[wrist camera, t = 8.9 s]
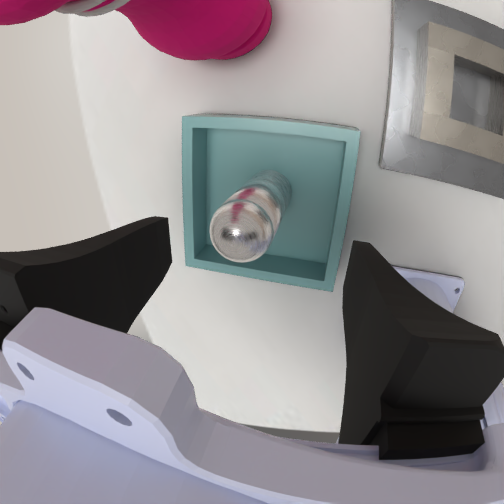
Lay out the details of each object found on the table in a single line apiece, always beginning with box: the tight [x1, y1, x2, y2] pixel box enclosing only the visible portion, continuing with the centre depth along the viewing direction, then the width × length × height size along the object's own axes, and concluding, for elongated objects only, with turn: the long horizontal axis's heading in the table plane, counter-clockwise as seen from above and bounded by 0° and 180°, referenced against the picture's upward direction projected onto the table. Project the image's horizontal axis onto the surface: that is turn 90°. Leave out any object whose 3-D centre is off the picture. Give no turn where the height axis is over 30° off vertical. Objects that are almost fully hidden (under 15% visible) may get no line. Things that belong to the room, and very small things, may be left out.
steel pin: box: [210, 170, 292, 262], centre depth 17 cm, size 3×3×8 cm
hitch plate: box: [379, 0, 504, 199], centre depth 13 cm, size 12×10×4 cm
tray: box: [182, 114, 360, 292], centre depth 20 cm, size 10×10×3 cm
